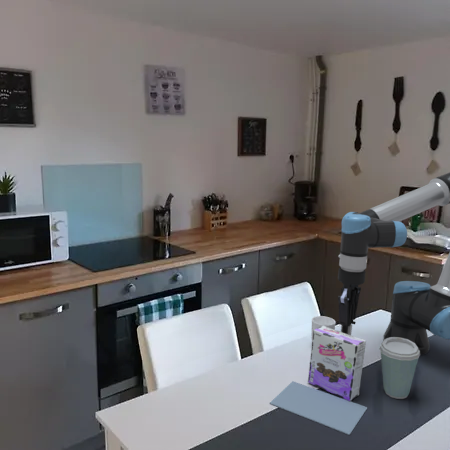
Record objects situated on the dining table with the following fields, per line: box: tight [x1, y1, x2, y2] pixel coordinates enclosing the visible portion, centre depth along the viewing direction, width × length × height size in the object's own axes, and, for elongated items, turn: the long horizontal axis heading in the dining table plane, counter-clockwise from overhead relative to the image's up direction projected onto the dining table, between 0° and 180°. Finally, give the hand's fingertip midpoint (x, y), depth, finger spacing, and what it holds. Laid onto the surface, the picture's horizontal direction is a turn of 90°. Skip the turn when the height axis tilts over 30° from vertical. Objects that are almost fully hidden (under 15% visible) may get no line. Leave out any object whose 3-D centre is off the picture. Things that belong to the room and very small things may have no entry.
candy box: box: [307, 326, 367, 402], centre depth 130 cm, size 14×6×16 cm, turn 47°
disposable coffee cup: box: [379, 337, 421, 400], centre depth 129 cm, size 11×11×15 cm
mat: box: [269, 380, 368, 436], centre depth 123 cm, size 14×22×1 cm, turn 56°
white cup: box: [311, 315, 336, 341], centre depth 156 cm, size 8×8×10 cm
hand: (344, 344), depth 136 cm, fingers closed
